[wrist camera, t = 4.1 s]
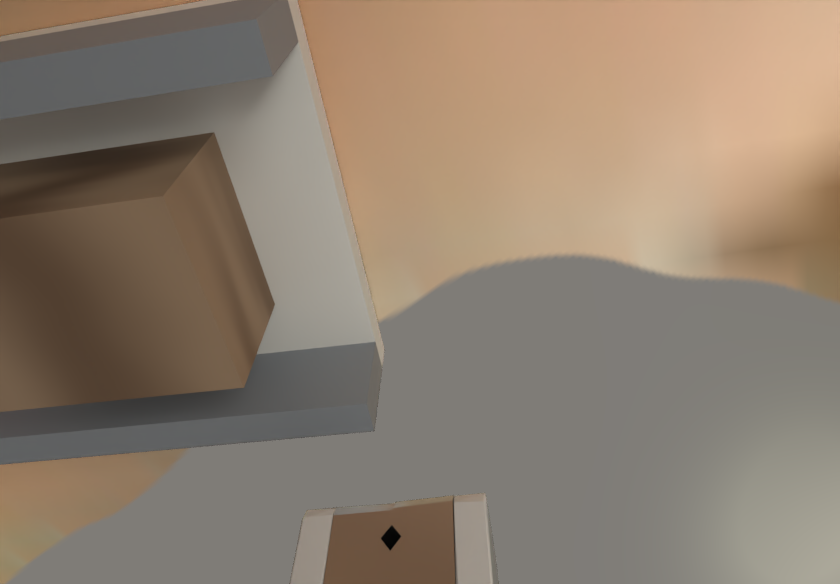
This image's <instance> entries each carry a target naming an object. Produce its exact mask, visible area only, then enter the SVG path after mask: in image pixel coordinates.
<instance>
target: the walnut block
mask: <svg viewBox="0 0 840 584" xmlns="http://www.w3.org/2000/svg"><path fill="white" fill-rule="evenodd" d="M274 306H275V303H274V300H273V297H272V295H271V292H270V289H269V286H268V283H267V280H266V278H265V275H264V272H263V269H262V266H261V263H260V261H259V258H258V255H257V252H256V249H255V246H254V244H253V241H252V238H251V235H250V232H249V229H248V227H247V224H246V221H245V218H244V215H243V212H242V210H241V207H240V204H239V201H238V198H237V195H236V193H235V190H234V187H233V184H232V181H231V178H230V176H229V173H228V170H227V167H226V164H225V161H224V159H223V156H222V153H221V150H220V147H219V144H218V142H217V139H216V136H215V133H214V132H213V133H206V134H199V135H193V136H186V137H179V138H173V139H166V140H159V141H153V142H146V143H139V144H132V145H126V146H119V147H112V148H106V149H99V150H92V151H86V152H79V153H72V154H66V155H59V156H52V157H46V158H39V159H32V160H26V161H19V162H12V163H6V164H0V412H5V411H15V410H25V409H35V408H45V407H55V406H65V405H75V404H85V403H95V402H105V401H115V400H125V399H135V398H145V397H155V396H165V395H175V394H185V393H195V392H205V391H215V390H225V389H235V388H244V387H245V384H246V381H247V378H248V376H249V373H250V370H251V368H252V365H253V362H254V360H255V357H256V354H257V352H258V349H259V346H260V344H261V341H262V338H263V336H264V333H265V330H266V327H267V325H268V322H269V319H270V317H271V314H272V311H273V309H274Z"/></svg>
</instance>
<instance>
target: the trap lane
mask: <svg viewBox="0 0 840 584" xmlns="http://www.w3.org/2000/svg"><path fill="white" fill-rule="evenodd" d="M213 132H214V133H215V136H216V139H217V142H218V144H219V147H220V150H221V153H222V156H223V159H224V161H225V164H226V167H227V170H228V173H229V176H230V178H231V181H232V184H233V187H234V190H235V193H236V195H237V198H238V201H239V204H240V207H241V210H242V212H243V215H244V218H245V221H246V224H247V227H248V229H249V232H250V235H251V238H252V241H253V244H254V246H255V249H256V252H257V255H258V258H259V261H260V263H261V266H262V269H263V272H264V275H265V278H266V280H267V283H268V286H269V289H270V292H271V295H272V297H273V300H274V303H275V306H274V309H273V311H272V314H271V317H270V319H269V322H268V325H267V327H266V330H265V333H264V336H263V338H262V341H261V344H260V346H259V349H258V352H257V354H256V357H255V360H254V362H253V365H252V368H251V370H250V373H249V376H248V378H247V381H246V384H245V387H244V388H235V389H225V390H215V391H205V392H195V393H185V394H175V395H165V396H155V397H145V398H135V399H125V400H115V401H105V402H95V403H85V404H75V405H65V406H55V407H45V408H35V409H25V410H15V411H5V412H0V465H1V464H12V463H23V462H35V461H46V460H57V459H68V458H79V457H91V456H102V455H113V454H124V453H135V452H147V451H158V450H169V449H180V448H191V447H202V446H213V445H224V444H235V443H247V442H258V441H270V440H281V439H292V438H304V437H315V436H326V435H336V434H348V433H358V432H359V433H360V432H371V431H375V423H376V415H377V407H378V399H379V391H380V382H381V374H382V366H383V358H384V346H383V342H382V338H381V334H380V330H379V326H378V322H377V318H376V314H375V310H374V306H373V302H372V298H371V294H370V290H369V286H368V282H367V278H366V273H365V269H364V265H363V261H362V257H361V253H360V249H359V245H358V241H357V237H356V233H355V229H354V225H353V221H352V217H351V213H350V209H349V205H348V201H347V197H346V193H345V189H344V185H343V181H342V177H341V173H340V169H339V165H338V161H337V157H336V153H335V149H334V145H333V141H332V137H331V133H330V129H329V125H328V121H327V117H326V113H325V109H324V105H323V101H322V97H321V93H320V89H319V85H318V81H317V77H316V73H315V69H314V65H313V61H312V57H311V53H310V49H309V45H308V41H307V37H306V33H305V29H304V25H303V21H302V16H301V12H300V8H299V4H298V0H203V1H198V2H192V3H186V4H181V5H175V6H169V7H164V8H158V9H152V10H146V11H141V12H135V13H129V14H124V15H118V16H112V17H107V18H101V19H95V20H89V21H84V22H78V23H72V24H67V25H61V26H55V27H50V28H44V29H38V30H32V31H27V32H21V33H15V34H10V35H4V36H0V164H6V163H12V162H19V161H26V160H32V159H39V158H46V157H52V156H59V155H66V154H72V153H79V152H86V151H92V150H99V149H106V148H112V147H119V146H126V145H132V144H139V143H146V142H153V141H159V140H166V139H173V138H179V137H186V136H193V135H199V134H206V133H213Z"/></svg>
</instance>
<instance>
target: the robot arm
mask: <svg viewBox="0 0 840 584" xmlns="http://www.w3.org/2000/svg"><path fill="white" fill-rule="evenodd" d="M289 584H499V581H498V570H497V563H496V556H495V549H494V542H493V535H492V529H491V523H490V516H489V511H488V504H487V498H486V494H485V493H479V494H469V495H460V496H443V497H435V498H427V499H417V500H409V501H399V502H395V503H393V504H378V505H364V506H351V507H336V508H325V509H315V510H307V511H306V513H305V516H304V517H303V519H302V523H301V528H300V533H299V539H298V543H297V549H296V553H295V558H294V563H293V568H292V573H291V579H290V583H289Z"/></svg>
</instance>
